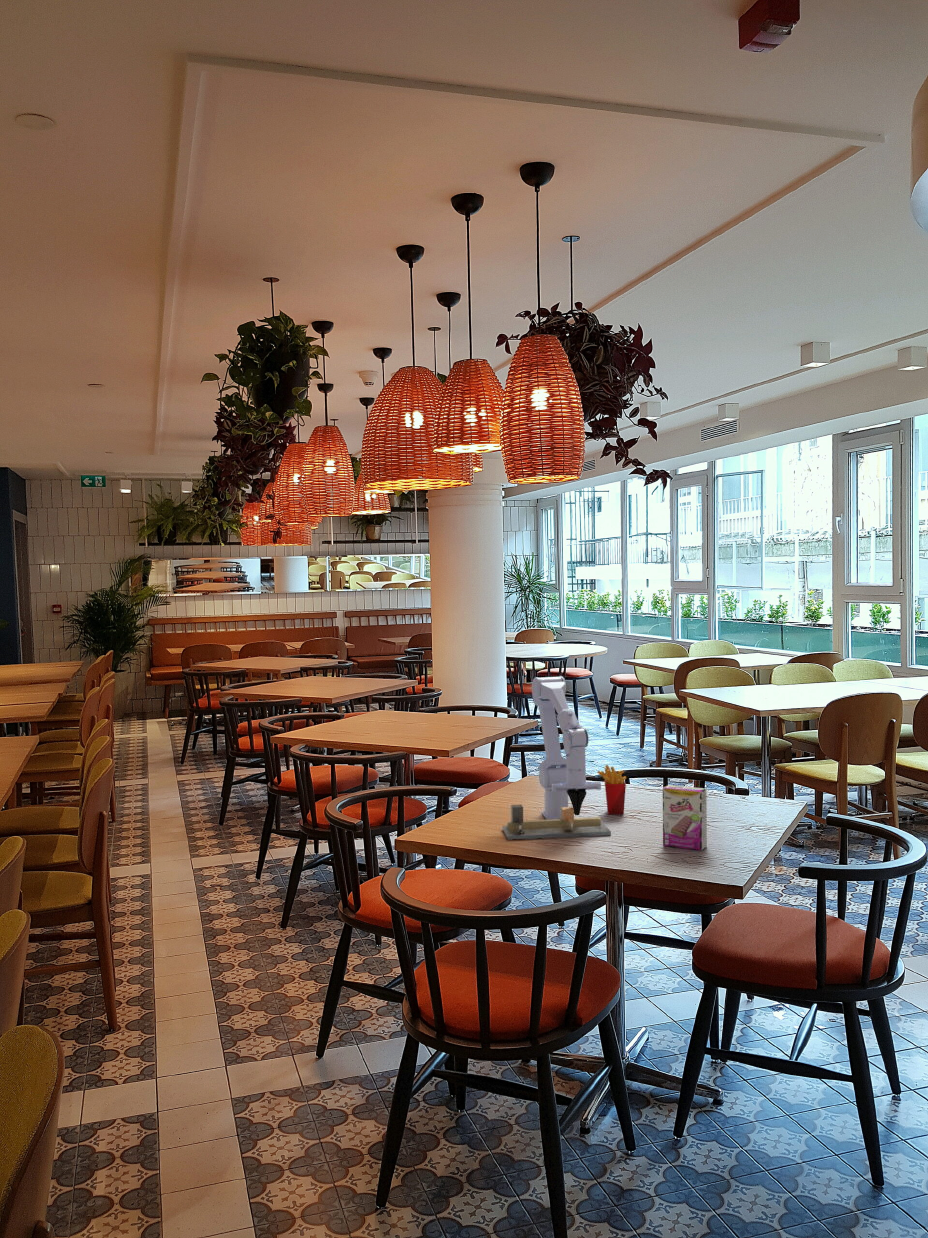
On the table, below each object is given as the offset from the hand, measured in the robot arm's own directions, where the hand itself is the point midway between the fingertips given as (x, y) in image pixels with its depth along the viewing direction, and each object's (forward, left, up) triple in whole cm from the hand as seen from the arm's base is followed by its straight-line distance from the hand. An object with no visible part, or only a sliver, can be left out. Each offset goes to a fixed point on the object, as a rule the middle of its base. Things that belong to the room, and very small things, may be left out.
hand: (576, 814), depth 283 cm
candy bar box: (+24, +25, -5) cm, 35 cm away
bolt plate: (+3, -7, -4) cm, 9 cm away
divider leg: (+2, -3, -3) cm, 5 cm away
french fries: (-17, +15, -5) cm, 23 cm away
